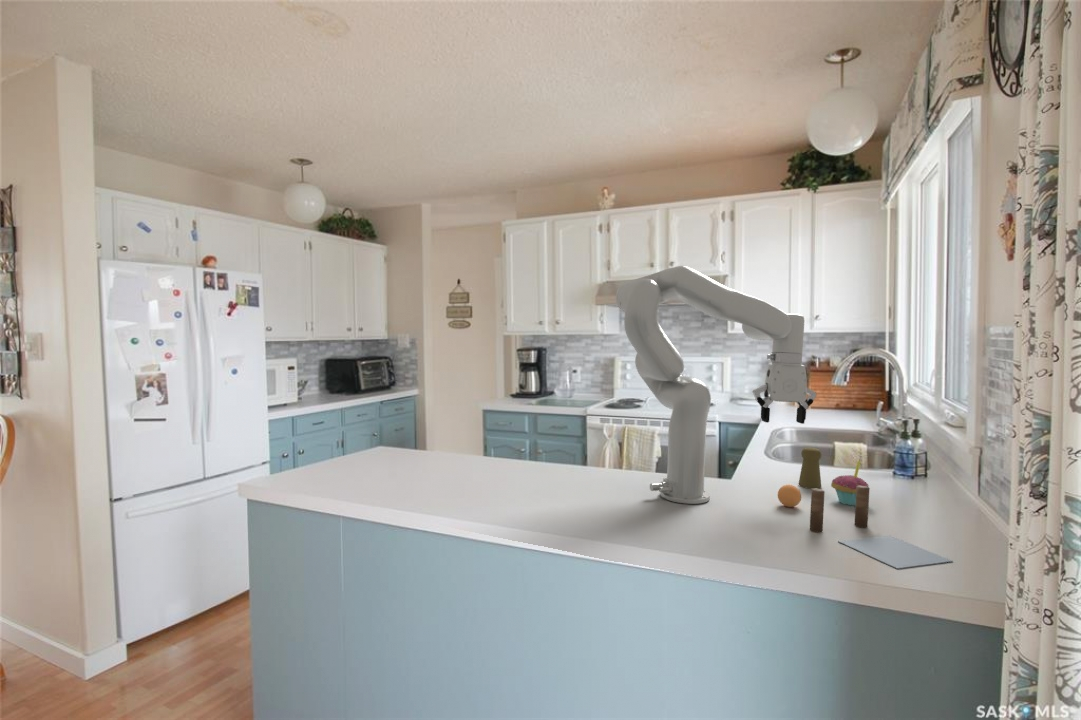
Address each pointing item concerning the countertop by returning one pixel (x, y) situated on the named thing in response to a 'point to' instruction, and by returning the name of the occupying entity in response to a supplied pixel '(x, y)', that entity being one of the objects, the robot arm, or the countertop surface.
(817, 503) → the post
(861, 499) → the post
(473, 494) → the countertop surface
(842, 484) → the cupcake
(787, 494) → the ball
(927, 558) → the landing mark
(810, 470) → the cork
